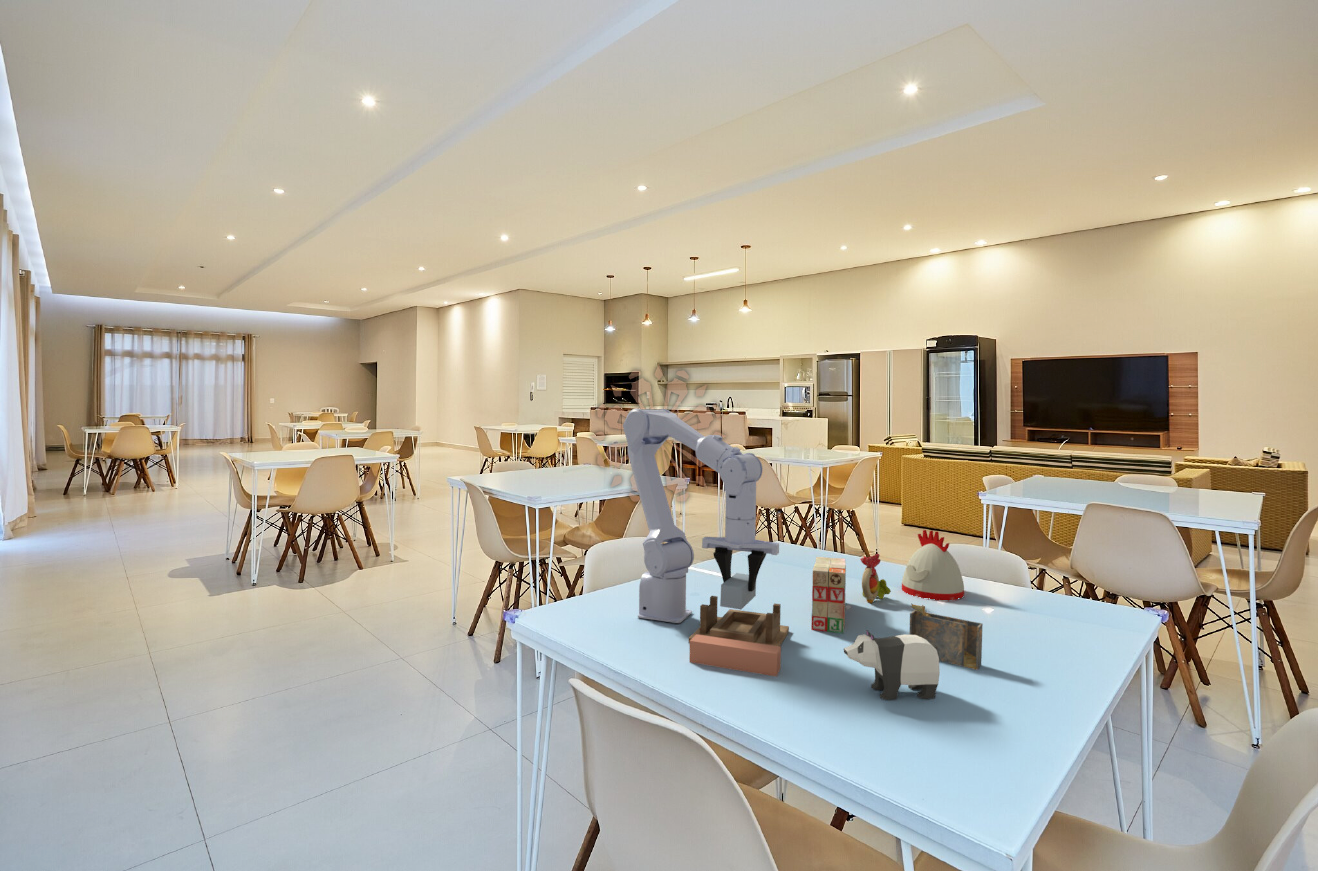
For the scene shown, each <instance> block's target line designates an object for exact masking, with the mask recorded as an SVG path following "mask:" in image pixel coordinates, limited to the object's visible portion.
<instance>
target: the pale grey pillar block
mask: <svg viewBox="0 0 1318 871" xmlns="http://www.w3.org/2000/svg"><path fill="white" fill-rule="evenodd" d="M748 581H749V573H748V574H747V573H746V574H745V573H738V572H736V573H734V574H733V575H731V578H729V579H728V580H727V581H725V582H723V583H722V584H720V601H719V602H720V603H719V606H720V607H721V608H728V609H733V610H741V611H742V610H743V609H744V608H745V607H746V606H747V605H748V604H749V603H750V602H751V601H752V600H753V599H754V598H756V594H757V591H756V590H757V582H756V583H755V589H754V590H753V591H752V592H751V591H748Z"/></svg>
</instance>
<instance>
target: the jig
mask: <svg viewBox="0 0 1318 871" xmlns="http://www.w3.org/2000/svg"><path fill="white" fill-rule="evenodd" d="M718 598H719V597H718V596H717V595H711V596H710V597H709V604H703V603H702V604H700V605H699V610H700V611H699V627H698V628H697V629H696V630H695V631H694V632H693V633H692V634H691V635H690V636H689V637H688V644H690V640H691V639H692V638H693V637H694V636H695V635H696V634H698V635H705V636H712V637H718V638H725V639H732V640H739V641H746V642H753V643H760V644H766V645H773V646H780V647H782V646H781V645H782V644H783V642H784V640H785V639H786V637H787V635H788V634H789V632H790V626H789V625H782V624H781V603H774V604H773V605H772V612H767V613H764V612H756V611H755V612H754V611H748V610H747V611H746V610H742V609H741V610H740V609H734V608H728V610H727V612H726V613H725V614H723V616H718Z"/></svg>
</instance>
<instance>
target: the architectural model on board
mask: <svg viewBox="0 0 1318 871" xmlns="http://www.w3.org/2000/svg"><path fill="white" fill-rule="evenodd" d="M910 605H911V608H912V609H913V611H911V612H910V613H909V634H908V635H917V636H919V637H922V638H924V639H926V640H927V641H928V642H929V643H932V644H935V645H936V646H937V647H938V653H939V656H938V657H939V662H943V663H946V664H947V663H948V664H952V665H957V666H961V667H964V668H968V669H973V670H974V671H975V670H976V671H977V670H979V669H980V668H981V666H982V656H983V655H982V654H983V652H982V651H983V625H984V624H983V623H981V622H977V621H971V620H966V619H961V618H958V617H957V618H956V617H952V616H946V615H941V614H938V613H937V614H936V613H932V612H927V611H926V605H924V604H922V605H920V604H919V605H918V604H913V603H910Z"/></svg>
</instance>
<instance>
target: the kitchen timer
mask: <svg viewBox="0 0 1318 871" xmlns="http://www.w3.org/2000/svg"><path fill="white" fill-rule="evenodd" d="M917 538H918V540H919V543H920V546H921V547H919V548H918V549H917V550H916V551H915V552H914V553H913V554H912V556H911V557H910V558H909V560H908V562H907V565H906V567H905V570H904V572H903V576H902V580H901V590H902V592H903V591H904V592H903V593H905V594H907V593H908V594H907V595H909V596H912V595H913V596H912V597H915V596H918V597H917V598H919V597H921V598H920V599H924V598H930V599H935V600H934V601H939V600H952V601H956V600H955V599H958V598H962V597H963V596H964V597H965V585H964V580H963V576H962V572H961V569H960V567H959V564H958V563H957V561H956V559H955V558H954V556H953V555H952V554H951V553H950V551H948V549H949V546H950V542H948V543H945V544H944V541H945V536H942V537H940V534H939V531H937V530H936V531H934V530H929V533H928V532H927V530H926V529H923V530H922V534H921V533H917ZM964 597H963V598H964ZM963 598H962V599H963Z"/></svg>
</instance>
